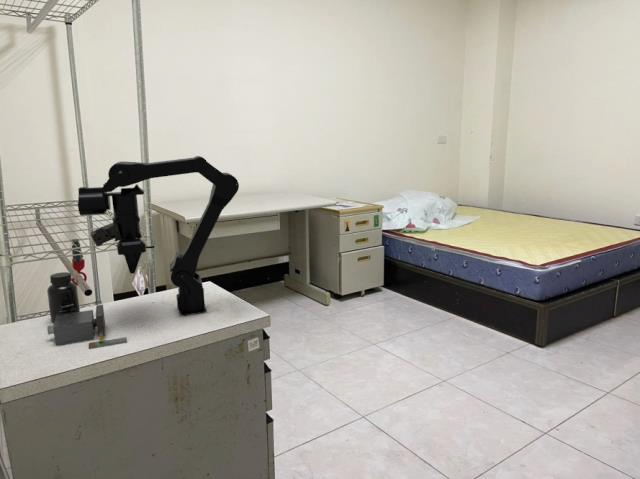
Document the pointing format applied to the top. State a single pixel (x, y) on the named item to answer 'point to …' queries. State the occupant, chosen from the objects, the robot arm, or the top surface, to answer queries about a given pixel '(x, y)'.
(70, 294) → the supplement bottle
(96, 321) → the gauge plunger
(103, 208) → the robot arm
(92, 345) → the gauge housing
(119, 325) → the top surface
